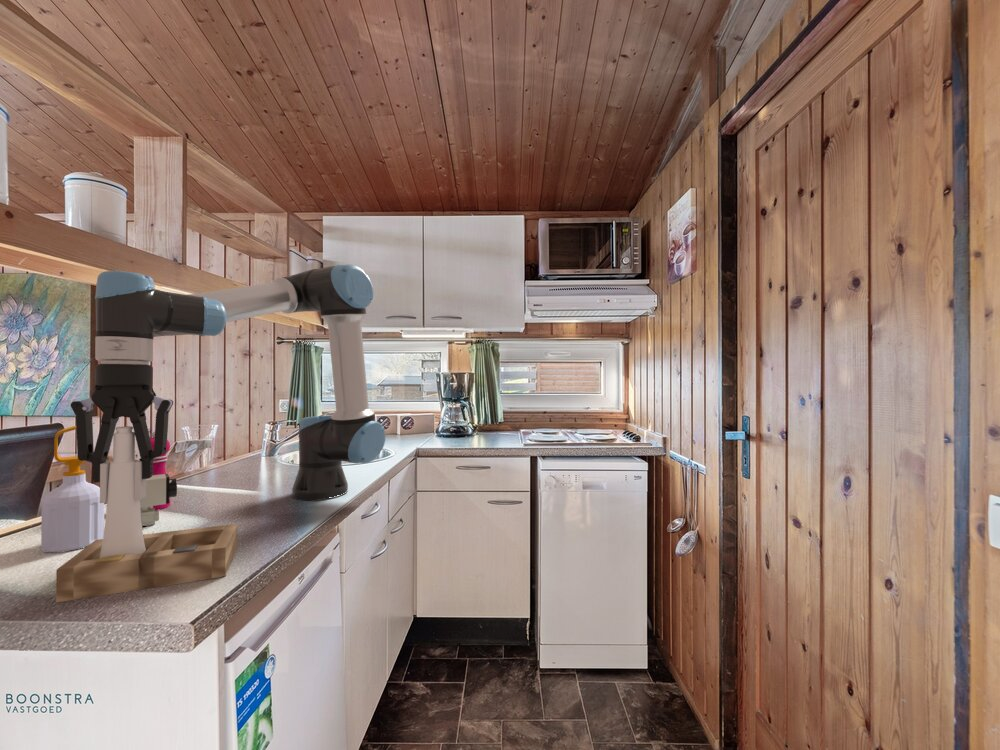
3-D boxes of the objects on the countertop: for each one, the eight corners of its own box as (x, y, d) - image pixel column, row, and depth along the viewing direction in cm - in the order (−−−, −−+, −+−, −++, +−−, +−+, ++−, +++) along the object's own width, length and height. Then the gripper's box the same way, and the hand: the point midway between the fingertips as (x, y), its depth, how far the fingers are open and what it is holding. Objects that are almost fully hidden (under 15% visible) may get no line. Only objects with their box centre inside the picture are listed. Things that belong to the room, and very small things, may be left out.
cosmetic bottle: (154, 548, 77) (156, 425, 77) (125, 562, 71) (126, 429, 71) (120, 548, 77) (122, 424, 77) (88, 562, 71) (90, 428, 71)
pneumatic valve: (176, 522, 102) (177, 471, 102) (109, 533, 94) (110, 479, 94) (174, 516, 106) (175, 467, 106) (110, 527, 98) (111, 474, 98)
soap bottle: (104, 544, 88) (105, 424, 88) (39, 557, 82) (40, 428, 82) (103, 533, 94) (104, 421, 95) (42, 544, 88) (43, 424, 88)
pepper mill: (135, 507, 113) (136, 431, 113) (170, 501, 118) (170, 428, 118) (139, 513, 108) (139, 433, 108) (174, 507, 113) (175, 431, 113)
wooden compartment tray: (237, 548, 86) (237, 522, 86) (225, 576, 74) (225, 545, 74) (95, 567, 77) (95, 538, 77) (56, 602, 66) (56, 567, 66)
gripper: (46, 361, 67) (44, 511, 67) (178, 363, 74) (177, 499, 74) (71, 363, 74) (69, 499, 74) (190, 364, 81) (188, 489, 81)
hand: (123, 499), depth 74 cm, fingers closed on cosmetic bottle, 4 cm apart
